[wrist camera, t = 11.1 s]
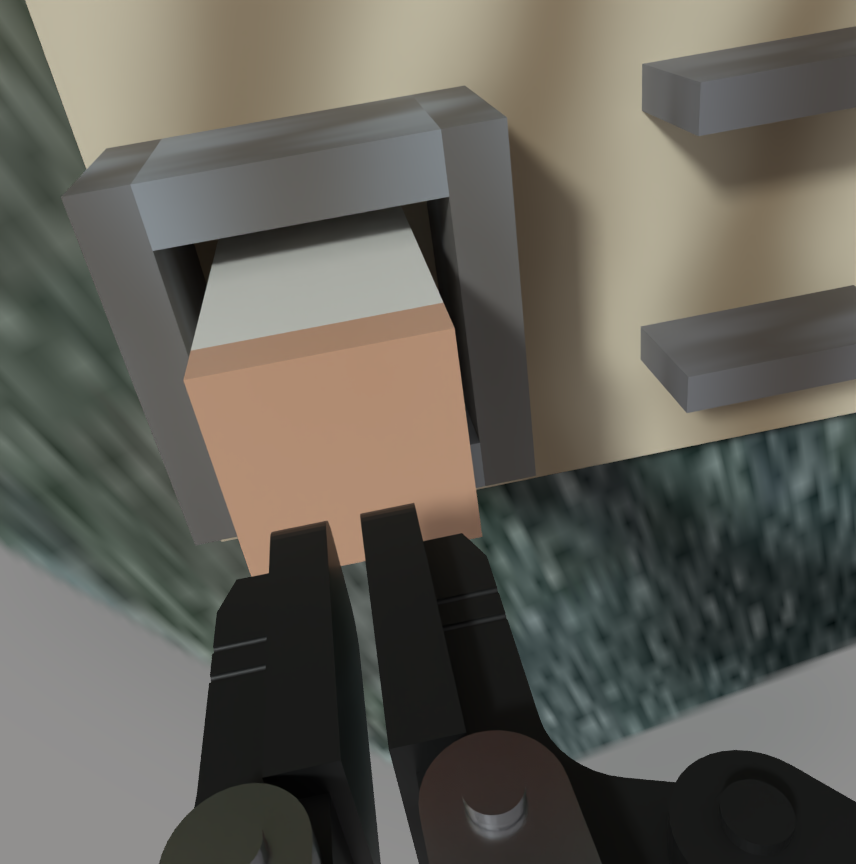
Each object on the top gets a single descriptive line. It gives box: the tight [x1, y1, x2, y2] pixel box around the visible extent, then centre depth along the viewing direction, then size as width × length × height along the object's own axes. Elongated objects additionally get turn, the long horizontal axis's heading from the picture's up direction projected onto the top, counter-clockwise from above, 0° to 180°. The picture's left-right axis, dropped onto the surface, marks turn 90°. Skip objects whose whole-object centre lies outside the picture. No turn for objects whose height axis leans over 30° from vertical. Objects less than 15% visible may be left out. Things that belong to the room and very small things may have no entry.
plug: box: [183, 206, 482, 577], centre depth 16 cm, size 4×4×8 cm
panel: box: [25, 0, 856, 545], centre depth 19 cm, size 20×14×6 cm
